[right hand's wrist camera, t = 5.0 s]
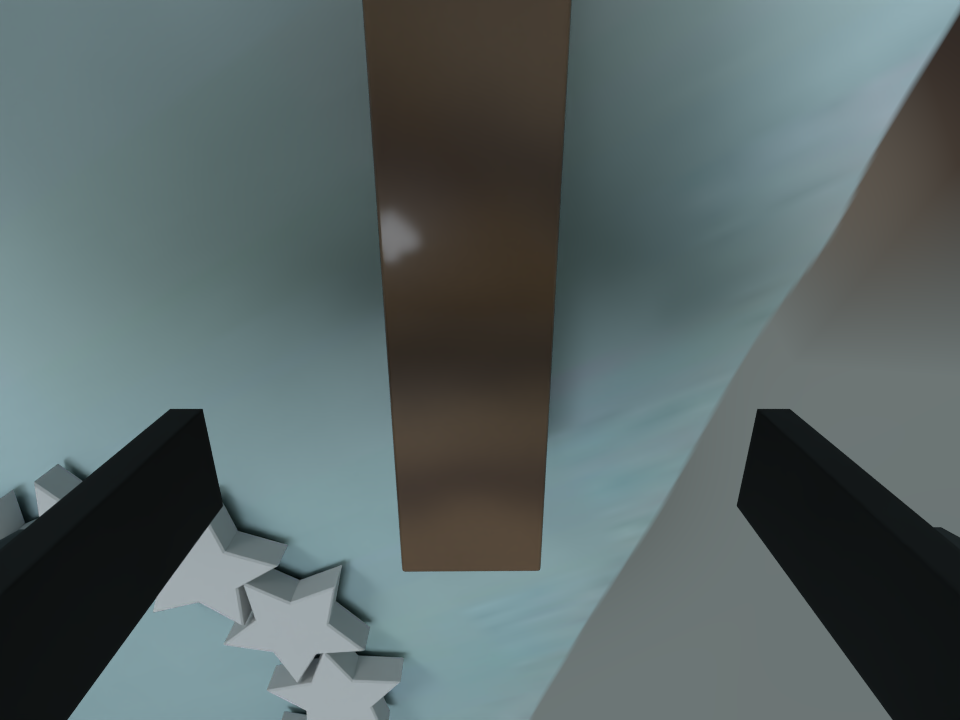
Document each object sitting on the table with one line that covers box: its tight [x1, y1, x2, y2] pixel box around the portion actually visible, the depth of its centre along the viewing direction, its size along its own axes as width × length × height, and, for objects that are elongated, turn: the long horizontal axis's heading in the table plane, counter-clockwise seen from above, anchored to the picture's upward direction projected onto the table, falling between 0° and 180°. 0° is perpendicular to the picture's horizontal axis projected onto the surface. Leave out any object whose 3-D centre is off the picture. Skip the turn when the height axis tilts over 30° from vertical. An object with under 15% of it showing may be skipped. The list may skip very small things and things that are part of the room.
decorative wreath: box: [0, 464, 404, 720], centre depth 30 cm, size 30×2×30 cm
